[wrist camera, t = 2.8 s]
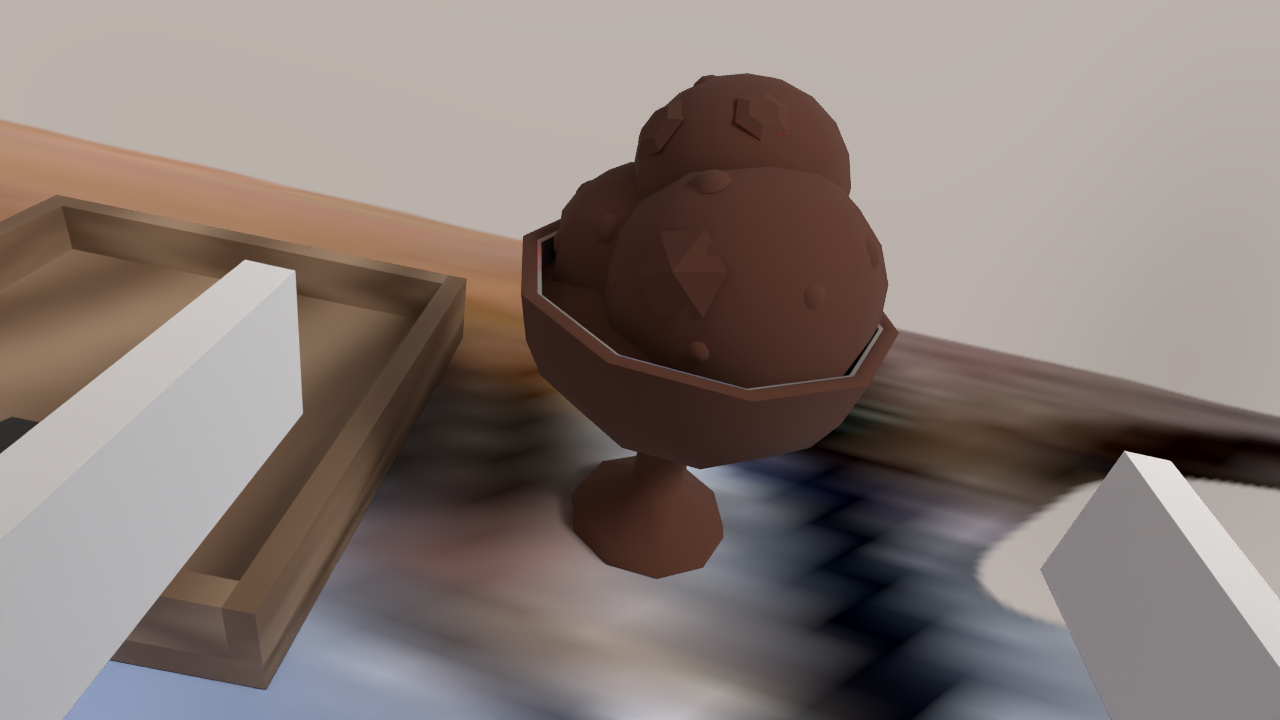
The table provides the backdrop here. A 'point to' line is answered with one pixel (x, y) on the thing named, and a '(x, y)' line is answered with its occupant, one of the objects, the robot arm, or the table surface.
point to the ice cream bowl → (706, 309)
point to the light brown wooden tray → (302, 462)
